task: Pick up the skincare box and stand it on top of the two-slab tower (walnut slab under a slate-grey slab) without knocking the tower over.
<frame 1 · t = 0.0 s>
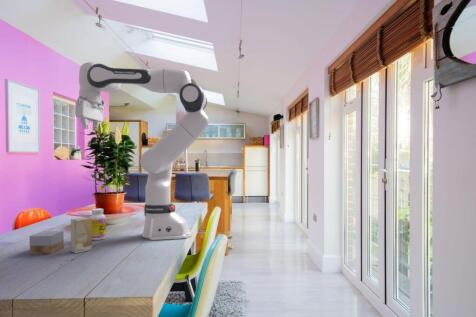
hand: (90, 129, 145), 48 cm above the table, fingers open, 8 cm apart
skincare box: (81, 251, 121), on the table
supplement bottle: (97, 239, 139), on the table
tower base: (47, 251, 122), on the table, touching tower top
tower top: (47, 242, 121), point 3 cm above the table, touching tower base
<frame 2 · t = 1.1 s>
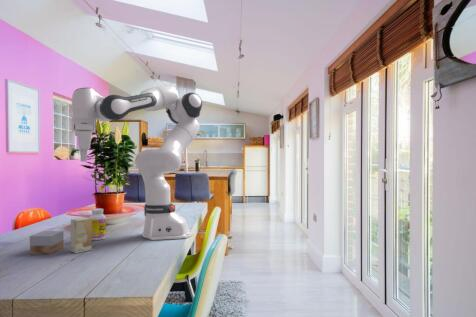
hand: (83, 161, 130), 34 cm above the table, fingers open, 8 cm apart
nothing on the table moved.
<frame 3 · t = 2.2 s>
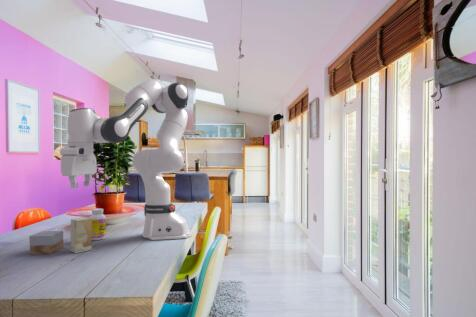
hand: (80, 187, 121), 24 cm above the table, fingers open, 8 cm apart
nothing on the table moved.
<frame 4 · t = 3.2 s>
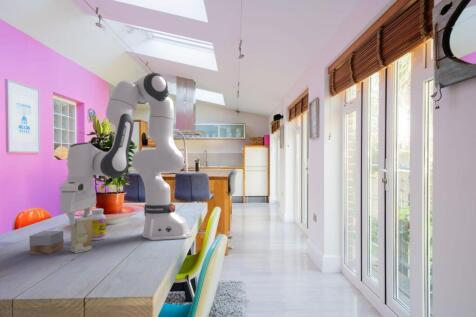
hand: (79, 221, 121), 11 cm above the table, fingers open, 8 cm apart
skincare box: (81, 251, 121), on the table, touching gripper
everything else where it was.
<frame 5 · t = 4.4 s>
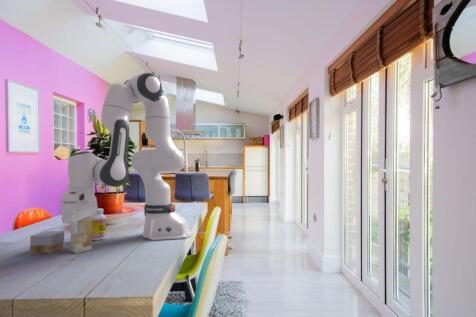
hand: (81, 230, 121), 8 cm above the table, fingers closed on skincare box, 7 cm apart
skincare box: (81, 251, 121), on the table, touching gripper
tower base: (47, 252, 121), on the table
tower top: (47, 242, 122), point 3 cm above the table
everything else where it was.
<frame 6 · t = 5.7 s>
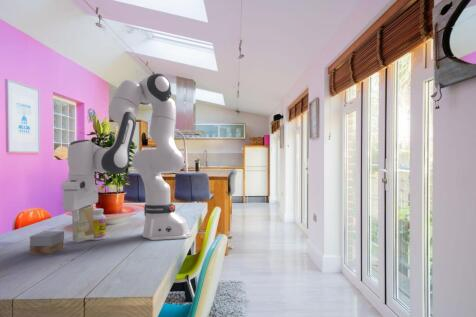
hand: (82, 218, 122), 12 cm above the table, fingers closed on skincare box, 7 cm apart
skincare box: (83, 239, 122), point 4 cm above the table, touching gripper
tower base: (47, 252, 121), on the table, touching tower top
tower top: (47, 243, 121), point 3 cm above the table, touching tower base
everything else where it was.
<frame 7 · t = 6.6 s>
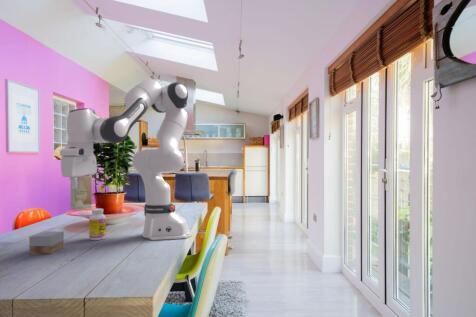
hand: (81, 187, 121), 24 cm above the table, fingers closed on skincare box, 7 cm apart
skincare box: (81, 209, 122), point 16 cm above the table, touching gripper
everything else where it was.
when the fingers open (16 cm above the table, at t = 10.4 s): skincare box drops 1 cm, resting on tower top.
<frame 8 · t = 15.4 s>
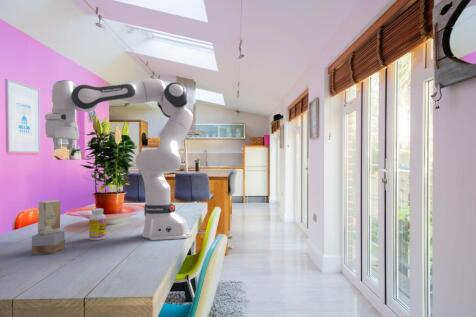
hand: (63, 149, 140), 39 cm above the table, fingers open, 8 cm apart
skincare box: (49, 233, 122), point 6 cm above the table, touching tower top
tower top: (48, 242, 121), point 3 cm above the table, touching skincare box, tower base
everything else where it was.
at the end: skincare box 0.5 cm off-centre on the tower top, point 3.3 cm above the tower top's base; skincare box tilted 1°; tower top 0.3 cm from the tower base (horizontally) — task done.
